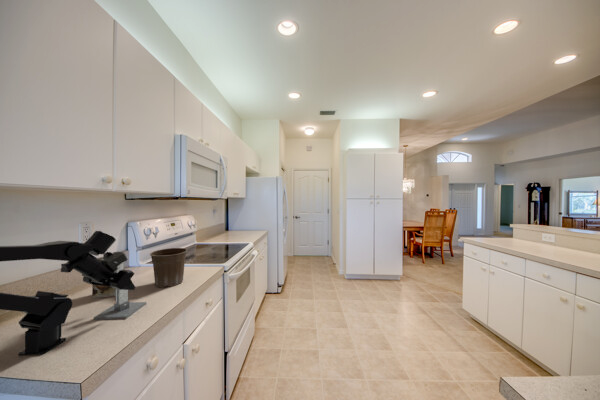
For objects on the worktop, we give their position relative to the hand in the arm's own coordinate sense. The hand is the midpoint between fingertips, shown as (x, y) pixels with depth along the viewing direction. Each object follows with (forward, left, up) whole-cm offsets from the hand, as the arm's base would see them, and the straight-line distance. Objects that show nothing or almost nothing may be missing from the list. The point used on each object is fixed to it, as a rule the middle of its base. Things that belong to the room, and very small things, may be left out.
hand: (125, 287), depth 84 cm
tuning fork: (-1, +1, -8) cm, 8 cm away
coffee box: (+15, +18, -9) cm, 24 cm away
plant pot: (+27, -2, -9) cm, 28 cm away
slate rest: (-1, +1, -9) cm, 9 cm away
